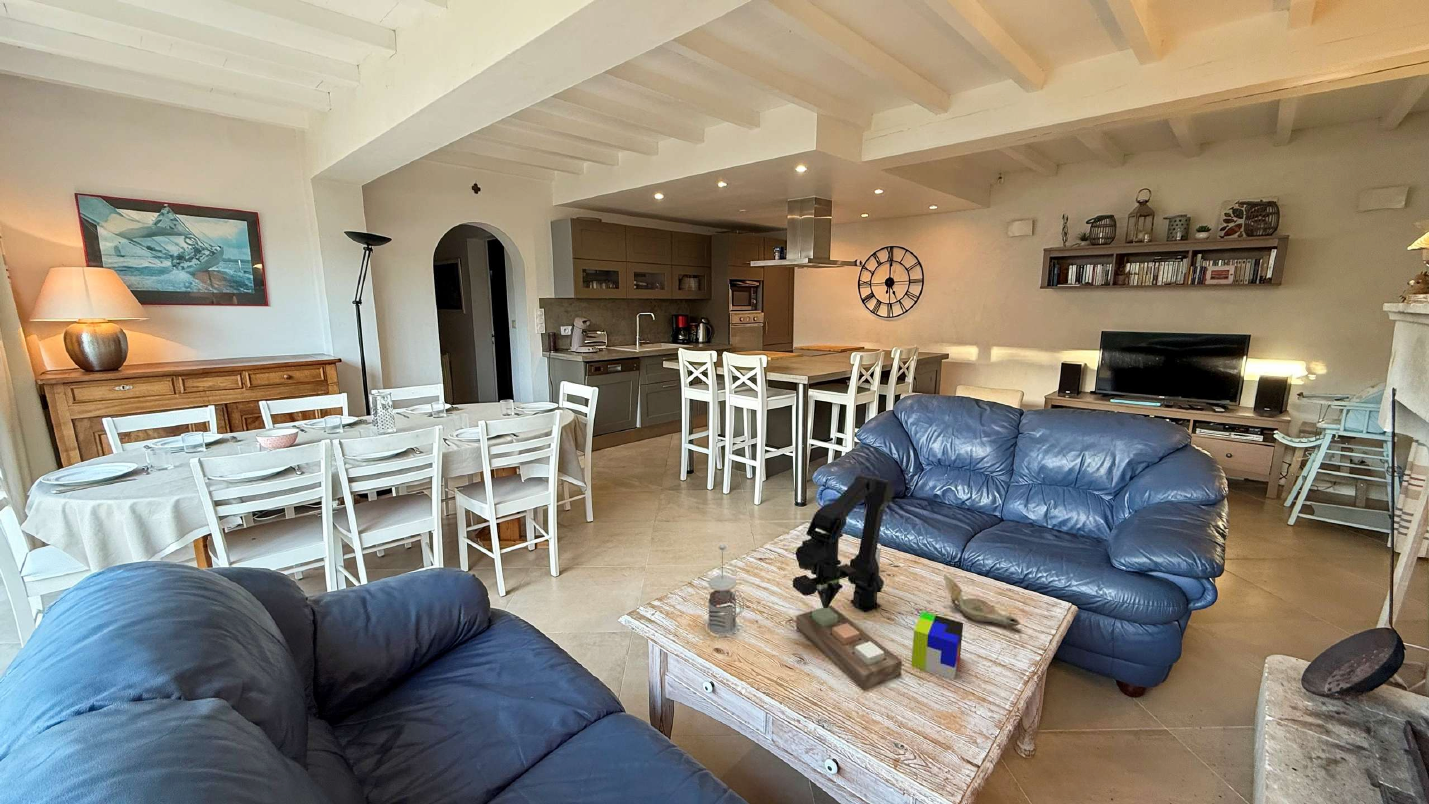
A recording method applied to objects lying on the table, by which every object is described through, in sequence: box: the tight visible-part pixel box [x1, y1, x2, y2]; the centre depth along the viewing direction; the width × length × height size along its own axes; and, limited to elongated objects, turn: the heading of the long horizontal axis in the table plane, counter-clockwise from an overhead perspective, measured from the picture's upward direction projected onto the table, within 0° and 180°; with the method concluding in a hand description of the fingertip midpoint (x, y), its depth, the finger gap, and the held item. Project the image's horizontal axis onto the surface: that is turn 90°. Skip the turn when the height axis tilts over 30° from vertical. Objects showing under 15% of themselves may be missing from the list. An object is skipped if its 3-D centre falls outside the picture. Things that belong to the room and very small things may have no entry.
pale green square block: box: [811, 607, 838, 628], centre depth 154 cm, size 5×5×3 cm
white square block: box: [854, 641, 884, 666], centre depth 138 cm, size 5×5×3 cm
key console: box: [795, 604, 903, 691], centre depth 147 cm, size 12×28×4 cm, turn 26°
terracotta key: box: [832, 623, 860, 646], centre depth 146 cm, size 5×5×3 cm
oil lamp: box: [943, 573, 1021, 628], centre depth 161 cm, size 9×21×10 cm, turn 47°
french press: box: [706, 543, 745, 636], centre depth 155 cm, size 10×12×25 cm
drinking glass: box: [875, 542, 882, 566], centre depth 188 cm, size 7×7×10 cm
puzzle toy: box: [911, 611, 964, 681], centre depth 141 cm, size 10×10×10 cm
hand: (825, 607), depth 154 cm, fingers closed
